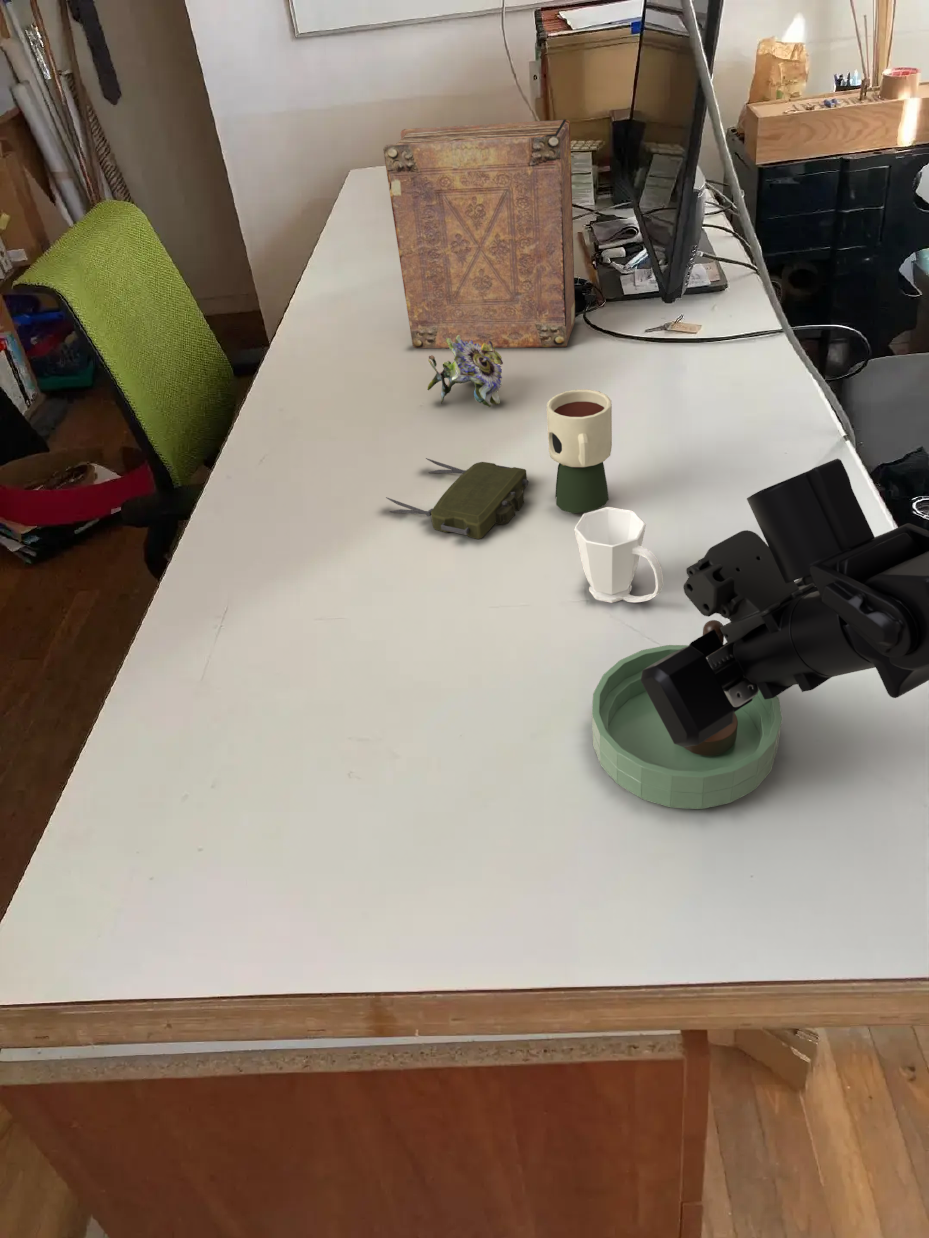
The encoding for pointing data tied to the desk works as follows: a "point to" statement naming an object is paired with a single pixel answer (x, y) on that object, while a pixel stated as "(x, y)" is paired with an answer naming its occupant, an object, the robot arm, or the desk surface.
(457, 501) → the landmine
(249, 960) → the desk surface
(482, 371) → the passion flower
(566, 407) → the character mug
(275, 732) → the desk surface
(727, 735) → the knob-topped peg stand
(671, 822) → the desk surface
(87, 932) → the desk surface
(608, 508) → the cup
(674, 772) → the bowl
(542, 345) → the book
